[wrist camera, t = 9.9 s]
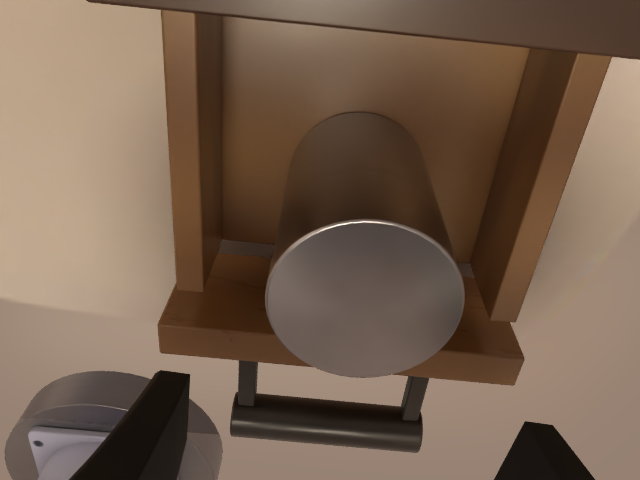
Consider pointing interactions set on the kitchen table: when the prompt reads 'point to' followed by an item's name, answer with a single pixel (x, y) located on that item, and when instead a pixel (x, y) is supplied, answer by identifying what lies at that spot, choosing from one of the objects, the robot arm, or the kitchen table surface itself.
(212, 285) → the drawer
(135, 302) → the kitchen table surface
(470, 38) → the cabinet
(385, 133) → the metal canister
